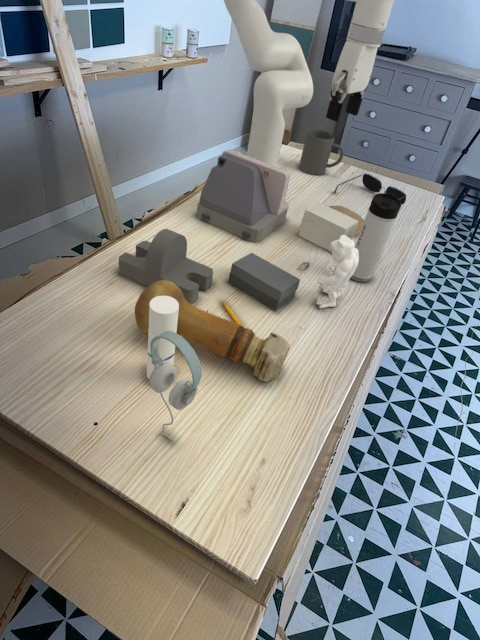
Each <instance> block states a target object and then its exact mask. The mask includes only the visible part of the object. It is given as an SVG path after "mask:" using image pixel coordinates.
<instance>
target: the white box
mask: <svg viewBox="0 0 480 640" xmlns="http://www.w3.org/2000/svg"><path fill="white" fill-rule="evenodd" d="M328 206H329V205H325V204H323V203H321V202H317V203H315V204H313V205H312V206H309V207H307V208H306V209H304V213H303V216H302V218H303V219H305V220H307V221H309V222H311V223H314V224H316V225H318V226H320V227H322V228H324V229H326V230H328V231H330V232H332V233H334V234H336V235H338V236H341V235H346V236H347V235H348V234H350V233H351V232H353V231H354V230H356V228H357V225H358V222H359V221H358V220H356V219H353V218H351V217H349V216H347V215H345V214H343V213H341V212H338V211H336V210H334V209H332V208H330V207H328Z"/></svg>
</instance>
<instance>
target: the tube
mask: <svg viewBox="0 0 480 640" xmlns="http://www.w3.org/2000/svg"><path fill="white" fill-rule="evenodd" d="M178 311H179V303H178V301H177V300H176V299H174V298H172V297H170V296H157V297H154V298H153V299H152V300H151V301H150V305H149V330H148V334H147V336H148V337H147V359H146V377H147V379H148V380H149V378H150V375H151V373H152V372H153V370H154V368H155V366H154V364H153V363H152V355H151V348H150V345H151V341H152V339H153V338H154V337H156V336H158V335H160V334H162V333H163V332H165V331H172V332H175V333H177V322H178ZM158 351H159V355H160V357H161V358H162V360H163V362H169V363H171V364H172V365H173V366H175V365H174V363H175V353H176V346H175V345H174V344H173V343H171V342H170V341H168V340H166V339H164V338H161V339H160V341H159V344H158ZM160 364H161V362H160ZM158 365H159V364H157V365H156V367H157V366H158Z"/></svg>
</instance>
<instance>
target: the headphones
mask: <svg viewBox="0 0 480 640" xmlns="http://www.w3.org/2000/svg"><path fill="white" fill-rule="evenodd" d="M161 338H164V339H166V340H168V341H170V342H171V343H173V344H174V345H175V348H177V349H178V351H179V352H180V353H181V354H182V356H183V357H184V359H185V361H186V363H187V365H188V367H189V370H190V373H191V378H192V379H191V378H189V377H185V378H182V379H180V380H178V381H177V382H176V383H175V384H174V382H175V381H176V378H177V375H178V371H177V370H178V369H177V367H176V366H175V365H172V364H171V363H169V362H163V360H162V358H161V357H160V355H159V351H158V344H159V341H160V339H161ZM150 348H151V355H152V363H153V364H154V366H155V368H154V370H153V372H152V373H151V375H150V378H149V379H148V386H149V387H150V388H151V390H153V391H154V392H155V393H157V394H160V397H161V399H162V401H163V402H164V404H165V406H166V408H167V410H168V412H169V414H170V417H171V422H170V423H164V424H162V426H161V428H162V433H163V434H164V436H165V437H166V438H167V439H168V440H169V441H171V442H172V443H175V441H176V440H173V439H172V438H171V437H169V436H168V435H167V433H166V430H165V426H171V425H173V423H174V416H173V413H172V411H171V408H170V407H169V405H170V406H172V407H173V408H174V409H175V410H176V411H181V410H184V409H186V408H187V407H188V406H189V405H191V403H193V402H194V400H195V397H196V394H197V392H198V386H199V384H200V382H201V380H202V365H201V362H200V359H199V356H198V355H197V353H196V351H195V349H194V348H193V347H192V346H191V344H190V343H189V341H188V340H186V339H185V337H183V336H181V335H179V334H177V333H175V332H172V331H165V332H163V333H162V334H160V335H158V336H156V337H154V338H153V339H152V341H151V345H150ZM160 362H161V364H160ZM157 364H159V365H158V366H157V367H156V365H157ZM173 384H174V385H173ZM172 386H173V387H172ZM171 387H172V388H171ZM169 388H171V389H170V392H169V393H168V399H167V400H168V403H167V401H166V400H165V398H164V395H163V393H164V392H166V391H167V390H169ZM168 404H169V405H168Z"/></svg>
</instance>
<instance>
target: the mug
mask: <svg viewBox="0 0 480 640" xmlns="http://www.w3.org/2000/svg"><path fill="white" fill-rule="evenodd" d="M333 148H336V149H339V153H340V154H339V158H338V159H337V160H336V161H334V162H332V163H329V160H330V156H331V153H332V150H333ZM344 155H345V149H344V147H343V146H341V145H339V144H337V143H335V135H333V133H330V132H329V131H326V130H322V129H314V128H313V129H309V130H307V132H306V136H305V141H304V144H303V147H302V152H301V157H300V161H299V169H300V170H301V171H302V172H304V173H307V174H308V175H314V176H321V175H324V174H325V172H326V169H327V168H329V169H330V168H333V167H335V166H338V165H339V164H340V163H342V160H343V159H344Z"/></svg>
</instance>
